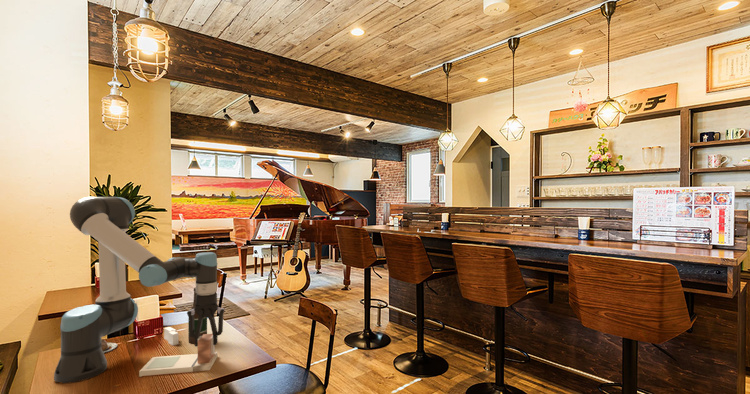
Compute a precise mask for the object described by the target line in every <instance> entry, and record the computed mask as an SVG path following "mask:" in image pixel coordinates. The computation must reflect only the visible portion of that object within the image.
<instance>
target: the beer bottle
mask: <svg viewBox="0 0 750 394" xmlns="http://www.w3.org/2000/svg"><path fill="white" fill-rule="evenodd" d="M196 294H197V293H196V286H195V287H194V288H193V303H192V306H191V308H190V310H192V309H194V308H195V306H196ZM198 318H199V316H198V314H197V313H196V312H195V314H194V326H195V332H196V328H197V323H198ZM187 319H188V320H187V321H188V324H187V326H188V332H187V333H188V339H187V340H188V343H189V344H192V345H195V338H194V337H190V336H189V317H188V318H187ZM203 334H208V318H206V317H205V318H203V322H202V327H201V331H200V335H199V336H203Z"/></svg>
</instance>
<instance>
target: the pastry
mask: <svg viewBox="0 0 750 394" xmlns="http://www.w3.org/2000/svg"><path fill="white" fill-rule="evenodd" d="M110 347H111V348H110ZM101 348H102V351H103V353H104V354H105V353H108V352H111V351H113V350H115V349H116V348H118V344H117V343H115V342H107V340H105V339H104V338H101Z"/></svg>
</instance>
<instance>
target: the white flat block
mask: <svg viewBox="0 0 750 394" xmlns="http://www.w3.org/2000/svg"><path fill="white" fill-rule="evenodd" d="M197 361H198V353H191V354H179V355H178V354H175V355H164V356H152V358H150V359H149V360H148V361H147V363H146V364H145V365H144V366H143V367H141V369H139V373H138V377H139V378H141V377H143V376H144V377H145V376H156V375H169V374H181V373H193V372H195V371H194V365H195V364H196V362H197Z"/></svg>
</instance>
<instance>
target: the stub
mask: <svg viewBox="0 0 750 394" xmlns="http://www.w3.org/2000/svg"><path fill="white" fill-rule="evenodd" d="M212 336H213V334H212V333H207V334H203V336H202V337H201V338H200V340H199V341H198V346H197V354H198V361H197V362H196V364H195V365H194V371H193V372H202V371H204V372H205V371H210V370H212V369H211V368H212V367H213V365H214V363H215V361H217V358H218V351H215V352H214V354H213V355H211V337H212Z"/></svg>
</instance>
